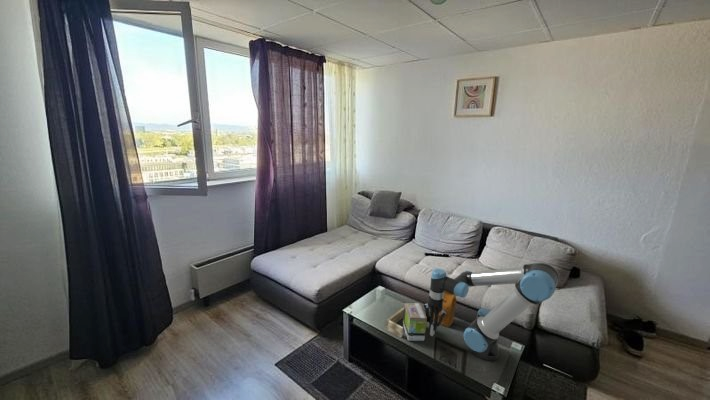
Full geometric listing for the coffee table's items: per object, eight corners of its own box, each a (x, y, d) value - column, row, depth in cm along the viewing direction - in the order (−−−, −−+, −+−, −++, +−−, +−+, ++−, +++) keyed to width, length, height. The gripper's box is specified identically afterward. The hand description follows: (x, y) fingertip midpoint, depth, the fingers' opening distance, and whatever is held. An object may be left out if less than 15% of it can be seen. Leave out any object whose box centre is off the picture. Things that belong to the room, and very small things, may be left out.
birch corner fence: (417, 322, 178) (418, 314, 176) (401, 337, 163) (401, 328, 162) (402, 315, 184) (402, 307, 183) (385, 329, 170) (386, 320, 169)
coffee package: (437, 313, 189) (441, 282, 184) (455, 322, 180) (460, 290, 175) (429, 319, 182) (433, 287, 177) (447, 329, 173) (452, 296, 169)
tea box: (425, 341, 161) (427, 318, 158) (407, 341, 161) (409, 317, 158) (418, 324, 176) (420, 302, 173) (402, 324, 176) (403, 302, 172)
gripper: (450, 298, 157) (445, 336, 162) (428, 290, 165) (424, 326, 170) (444, 304, 151) (440, 343, 156) (422, 295, 160) (418, 332, 164)
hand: (432, 334), depth 163 cm, fingers closed
